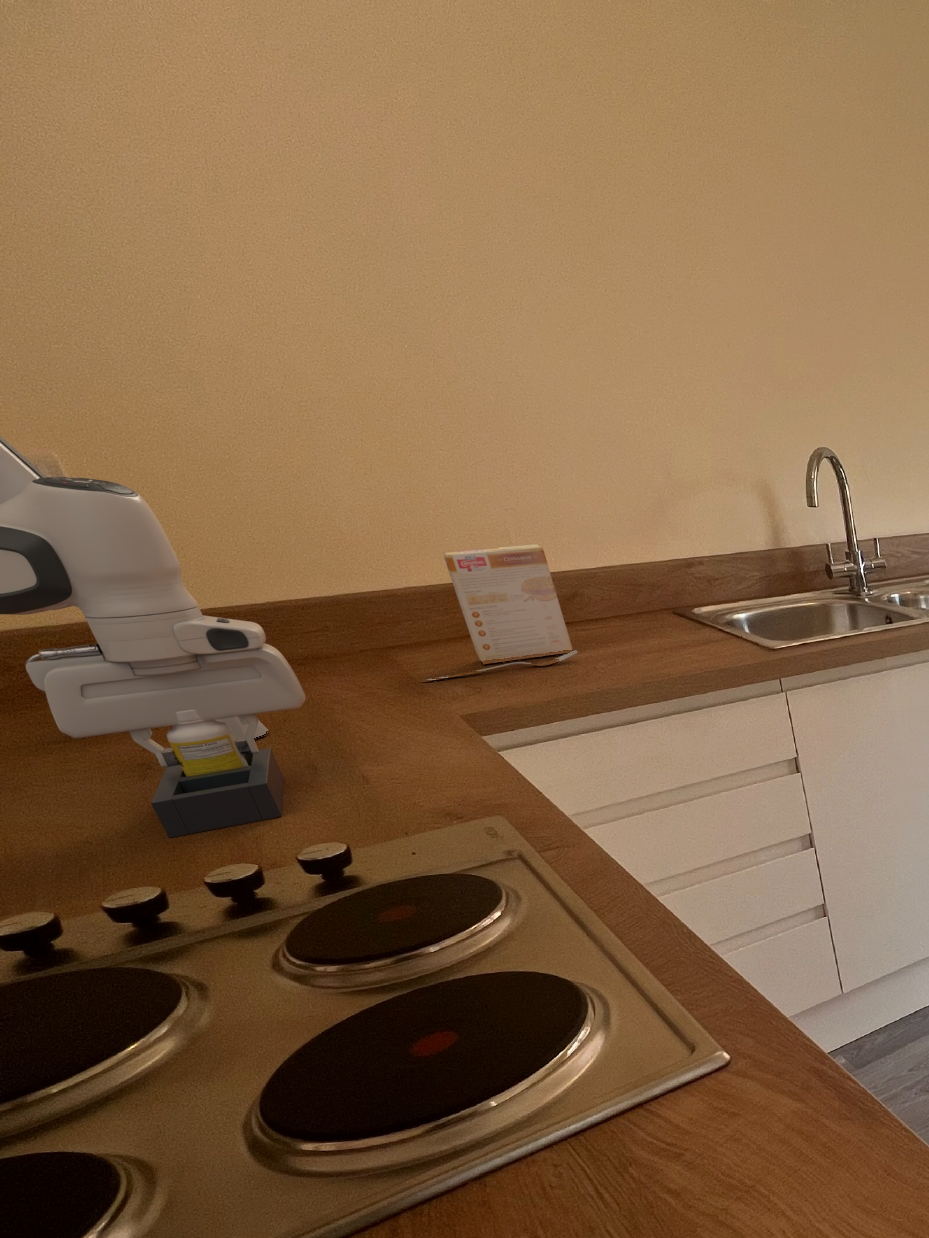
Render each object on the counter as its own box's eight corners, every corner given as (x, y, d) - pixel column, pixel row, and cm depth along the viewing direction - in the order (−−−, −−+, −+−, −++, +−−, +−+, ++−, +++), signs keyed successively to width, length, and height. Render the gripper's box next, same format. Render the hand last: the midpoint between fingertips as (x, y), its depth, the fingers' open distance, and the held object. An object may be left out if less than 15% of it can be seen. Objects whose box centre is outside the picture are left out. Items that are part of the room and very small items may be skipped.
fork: (420, 680, 164) (416, 670, 163) (578, 658, 178) (575, 649, 177) (422, 684, 161) (418, 673, 161) (582, 661, 175) (579, 652, 175)
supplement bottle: (208, 784, 113) (169, 703, 109) (265, 778, 115) (229, 698, 110) (184, 799, 108) (143, 715, 104) (243, 793, 110) (205, 710, 106)
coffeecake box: (567, 648, 187) (537, 543, 178) (574, 653, 182) (543, 546, 173) (477, 659, 178) (440, 550, 170) (482, 666, 173) (444, 553, 165)
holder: (168, 838, 101) (150, 802, 99) (183, 796, 113) (167, 764, 111) (281, 816, 106) (266, 782, 104) (284, 778, 118) (270, 747, 116)
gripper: (9, 656, 96) (79, 786, 102) (275, 630, 107) (324, 747, 113) (22, 646, 100) (88, 771, 106) (277, 622, 112) (323, 736, 118)
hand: (212, 759), depth 110 cm, fingers closed on supplement bottle, 5 cm apart
